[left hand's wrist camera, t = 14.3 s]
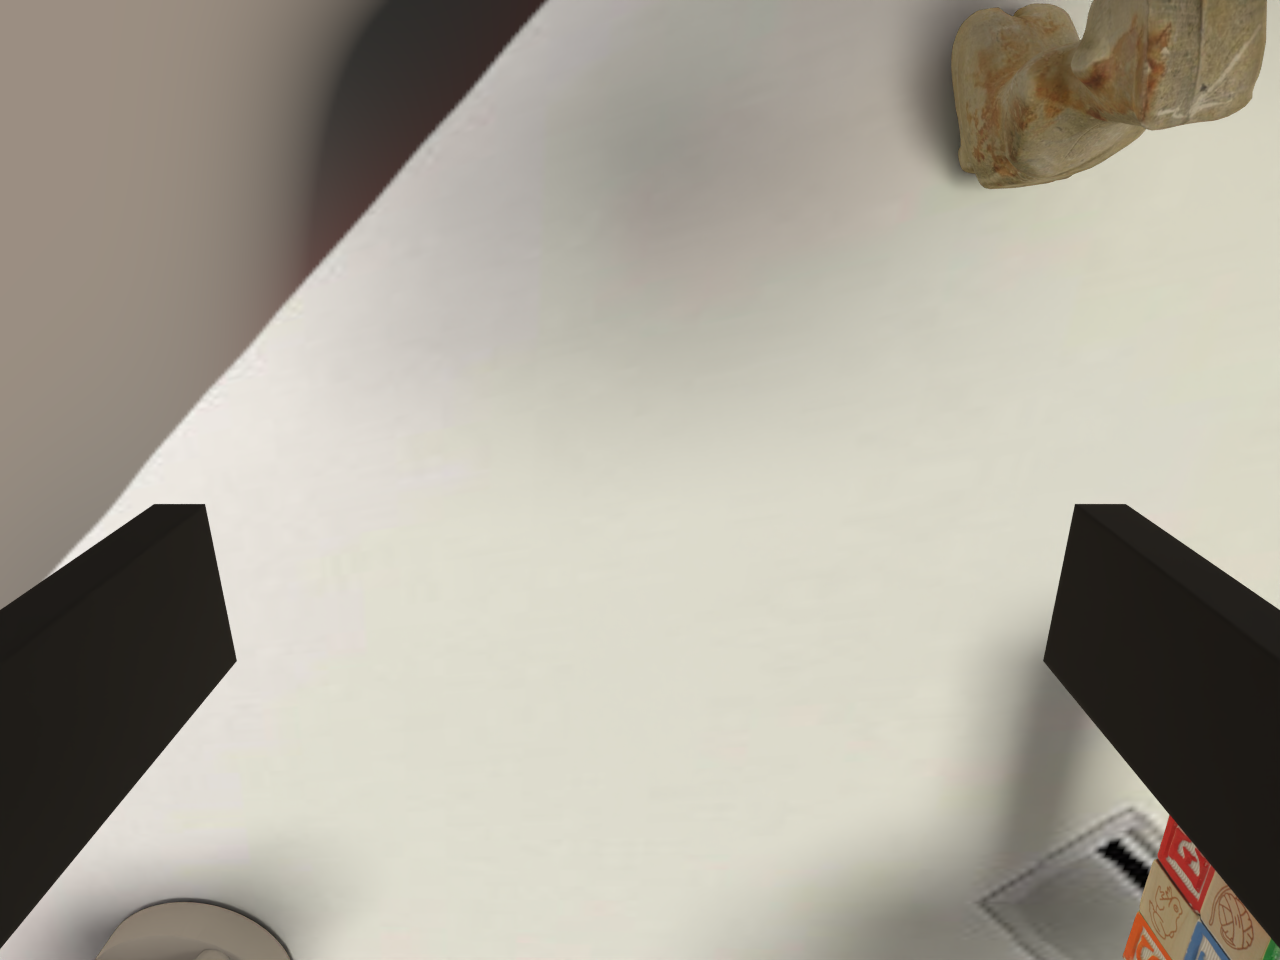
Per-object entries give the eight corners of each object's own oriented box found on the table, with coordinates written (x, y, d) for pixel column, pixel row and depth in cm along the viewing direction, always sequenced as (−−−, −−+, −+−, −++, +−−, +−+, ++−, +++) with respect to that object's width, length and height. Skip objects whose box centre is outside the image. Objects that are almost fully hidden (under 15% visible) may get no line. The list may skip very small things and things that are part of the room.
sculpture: (1067, 5, 36) (1345, -102, 22) (1052, 180, 38) (1290, 187, 24) (932, 17, 36) (1121, -81, 22) (925, 191, 38) (1090, 204, 24)
